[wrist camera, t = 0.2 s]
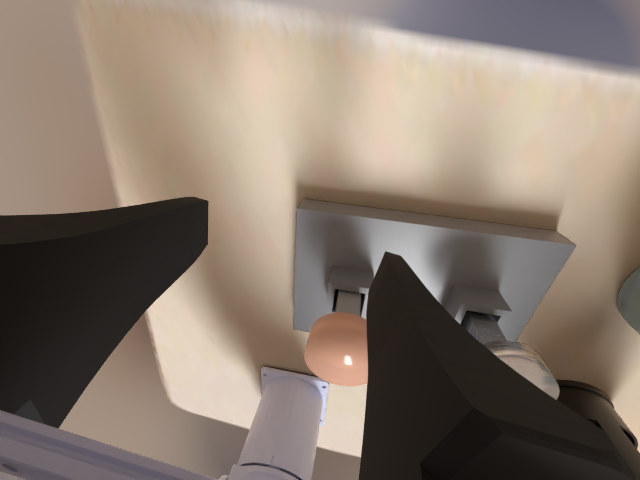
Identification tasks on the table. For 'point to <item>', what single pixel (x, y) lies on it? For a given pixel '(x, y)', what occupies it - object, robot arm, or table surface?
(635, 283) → the grey green cup
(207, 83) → the table surface
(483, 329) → the steel plunger
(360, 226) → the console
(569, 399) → the french press
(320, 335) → the peach knob
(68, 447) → the robot arm
